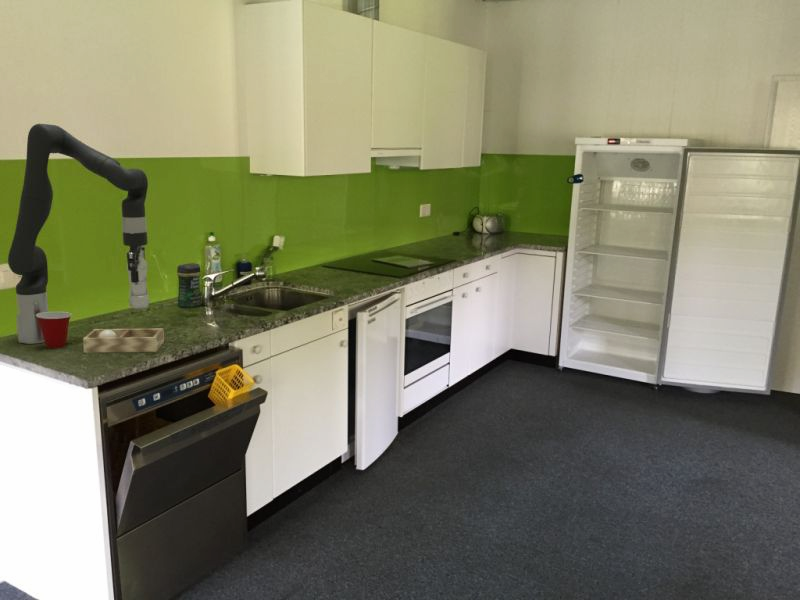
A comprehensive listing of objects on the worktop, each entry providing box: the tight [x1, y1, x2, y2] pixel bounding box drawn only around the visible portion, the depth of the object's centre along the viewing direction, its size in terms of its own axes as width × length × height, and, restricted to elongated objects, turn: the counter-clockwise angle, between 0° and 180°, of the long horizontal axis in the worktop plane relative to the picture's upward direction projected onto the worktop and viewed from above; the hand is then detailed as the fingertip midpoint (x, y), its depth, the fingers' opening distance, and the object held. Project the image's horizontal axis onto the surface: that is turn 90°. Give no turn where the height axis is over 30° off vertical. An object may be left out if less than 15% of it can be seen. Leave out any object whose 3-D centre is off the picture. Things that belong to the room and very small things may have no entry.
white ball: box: [98, 330, 117, 338], centre depth 227 cm, size 6×6×6 cm
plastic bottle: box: [126, 249, 150, 310], centre depth 224 cm, size 6×7×20 cm
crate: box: [82, 327, 165, 354], centre depth 228 cm, size 23×12×6 cm, turn 98°
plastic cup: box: [36, 311, 73, 349], centre depth 228 cm, size 11×11×12 cm
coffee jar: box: [176, 262, 203, 309], centre depth 290 cm, size 10×8×19 cm
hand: (137, 280), depth 225 cm, fingers closed on plastic bottle, 6 cm apart
